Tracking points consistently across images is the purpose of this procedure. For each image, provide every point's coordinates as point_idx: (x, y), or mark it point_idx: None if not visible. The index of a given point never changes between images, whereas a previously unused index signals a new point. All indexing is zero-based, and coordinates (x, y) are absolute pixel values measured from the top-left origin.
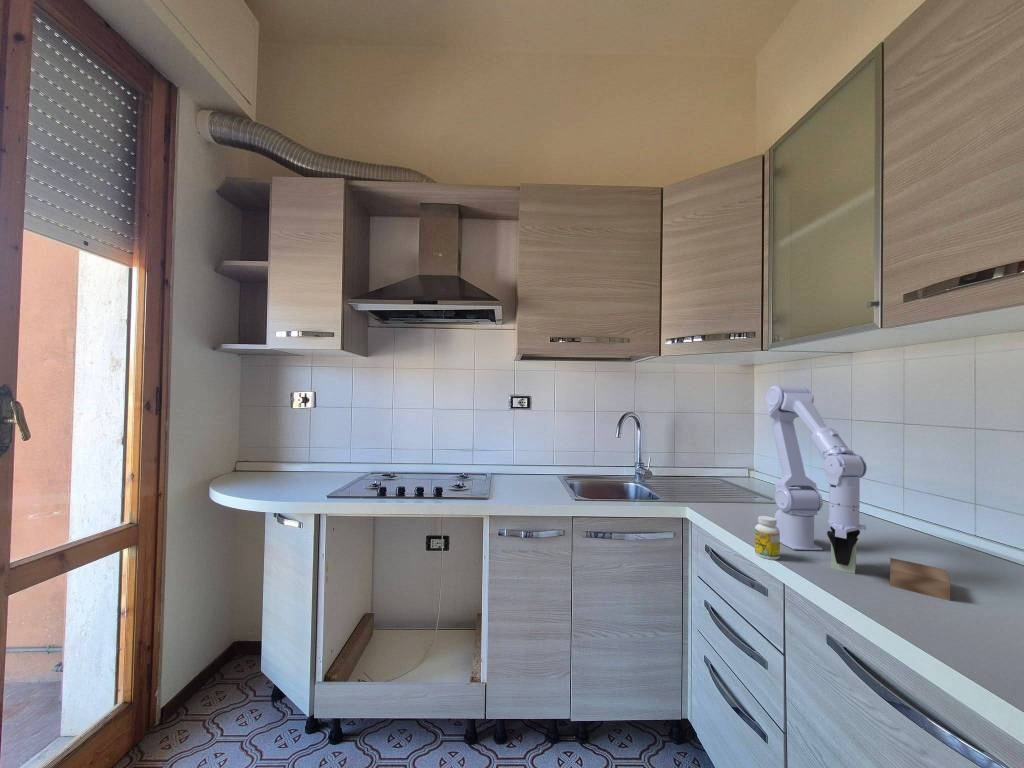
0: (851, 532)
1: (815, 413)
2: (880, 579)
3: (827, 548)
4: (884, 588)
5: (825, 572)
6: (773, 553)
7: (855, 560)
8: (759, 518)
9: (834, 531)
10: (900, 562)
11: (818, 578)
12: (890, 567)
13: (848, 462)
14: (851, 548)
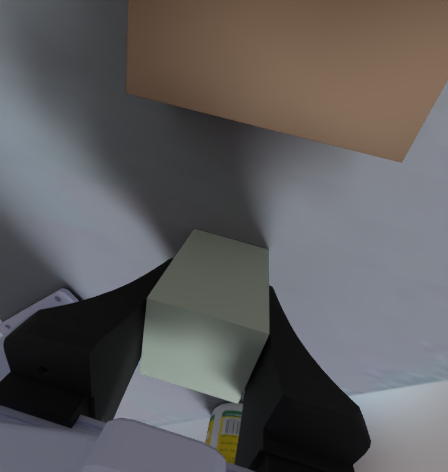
0: (102, 372)
1: None
2: (283, 168)
3: (23, 265)
4: (405, 182)
5: (305, 330)
6: None
7: (223, 261)
8: None
9: (112, 411)
10: (196, 43)
11: (380, 360)
12: (365, 151)
13: None
14: (311, 360)
